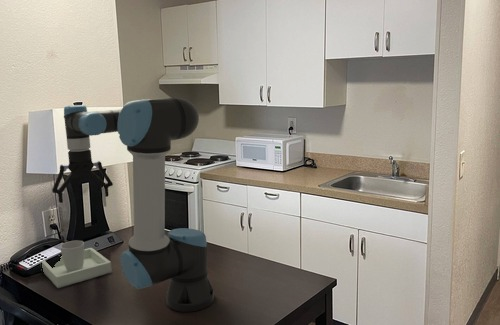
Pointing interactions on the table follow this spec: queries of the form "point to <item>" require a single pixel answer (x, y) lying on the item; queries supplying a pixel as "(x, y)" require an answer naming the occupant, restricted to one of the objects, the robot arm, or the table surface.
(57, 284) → the bin
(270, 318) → the table surface
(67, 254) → the cup
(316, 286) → the table surface
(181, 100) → the robot arm
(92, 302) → the table surface
